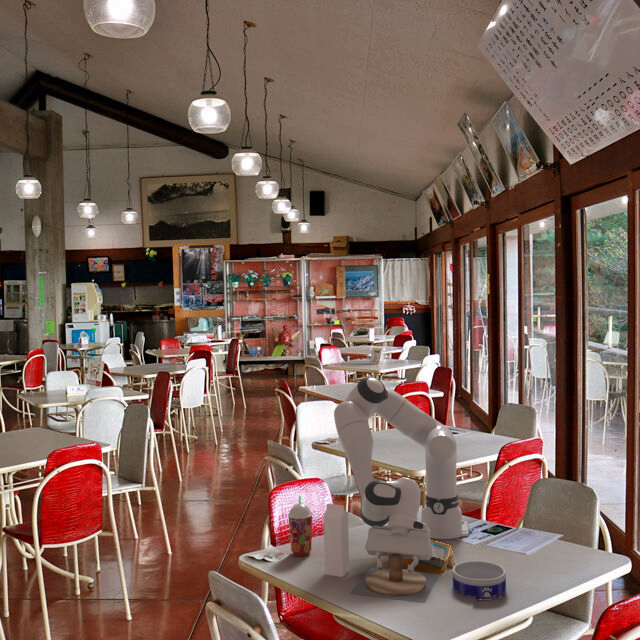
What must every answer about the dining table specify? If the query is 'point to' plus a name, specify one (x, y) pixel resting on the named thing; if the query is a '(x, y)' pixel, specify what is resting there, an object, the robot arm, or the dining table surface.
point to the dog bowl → (479, 579)
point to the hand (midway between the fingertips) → (394, 570)
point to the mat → (417, 597)
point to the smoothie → (300, 529)
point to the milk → (336, 540)
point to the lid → (395, 579)
